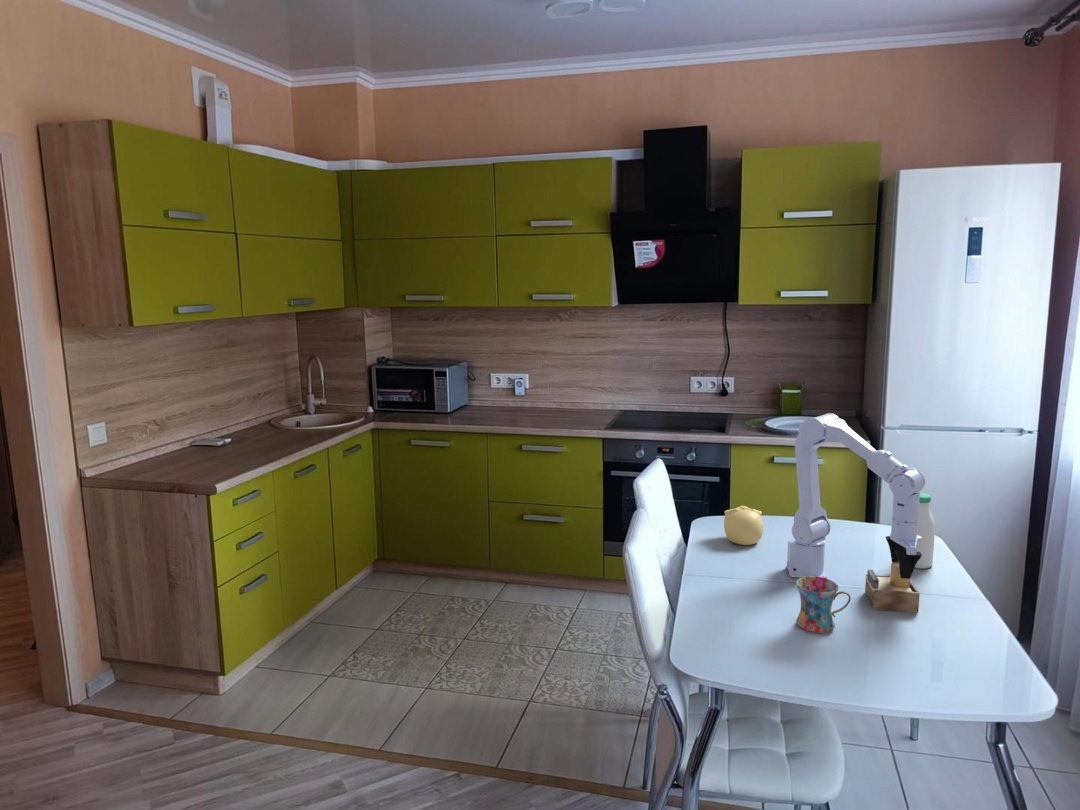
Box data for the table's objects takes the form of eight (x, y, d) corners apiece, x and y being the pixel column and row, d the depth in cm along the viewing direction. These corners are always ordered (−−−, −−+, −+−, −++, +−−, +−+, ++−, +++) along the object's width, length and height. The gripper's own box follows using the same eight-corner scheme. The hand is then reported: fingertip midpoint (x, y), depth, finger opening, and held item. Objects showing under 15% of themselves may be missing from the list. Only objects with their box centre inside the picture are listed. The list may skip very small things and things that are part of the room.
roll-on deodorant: (912, 589, 187) (913, 569, 186) (891, 587, 188) (893, 568, 187) (908, 581, 191) (909, 562, 190) (888, 580, 192) (889, 560, 191)
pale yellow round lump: (759, 534, 239) (760, 501, 237) (765, 549, 227) (766, 514, 225) (721, 534, 240) (722, 501, 238) (726, 548, 228) (727, 513, 226)
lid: (873, 591, 187) (873, 581, 186) (865, 577, 195) (866, 567, 194) (912, 593, 185) (913, 583, 185) (903, 579, 193) (904, 569, 193)
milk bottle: (931, 560, 215) (936, 492, 211) (932, 571, 208) (938, 500, 204) (901, 557, 218) (906, 489, 215) (901, 567, 211) (906, 497, 208)
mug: (795, 634, 176) (796, 590, 174) (793, 616, 185) (795, 574, 183) (851, 639, 173) (853, 595, 171) (846, 621, 182) (848, 578, 180)
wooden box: (874, 609, 187) (875, 591, 186) (865, 592, 196) (866, 574, 195) (918, 612, 185) (919, 593, 184) (906, 594, 195) (908, 576, 194)
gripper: (931, 530, 178) (927, 584, 181) (914, 510, 192) (910, 561, 195) (899, 528, 180) (895, 583, 182) (884, 508, 194) (880, 559, 196)
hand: (901, 571), depth 189 cm, fingers open, 7 cm apart
